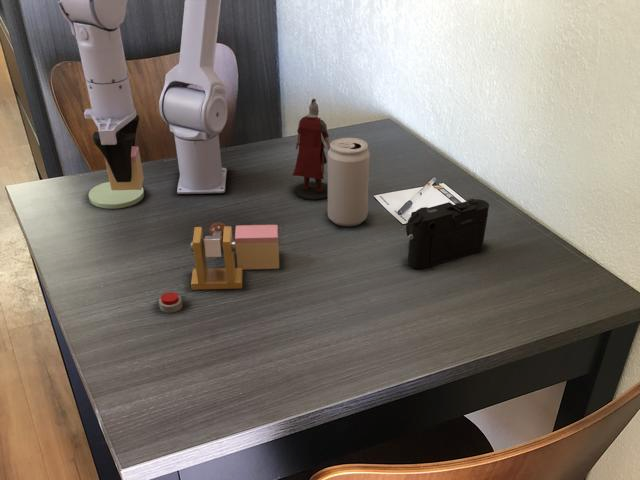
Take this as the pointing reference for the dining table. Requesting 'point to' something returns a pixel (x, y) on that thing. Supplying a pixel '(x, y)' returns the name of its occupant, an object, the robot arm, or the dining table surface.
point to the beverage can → (348, 181)
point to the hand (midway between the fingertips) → (125, 174)
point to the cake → (257, 246)
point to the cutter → (214, 240)
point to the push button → (170, 302)
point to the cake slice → (136, 173)
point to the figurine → (311, 155)
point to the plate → (114, 196)
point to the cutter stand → (219, 276)
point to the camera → (446, 232)
